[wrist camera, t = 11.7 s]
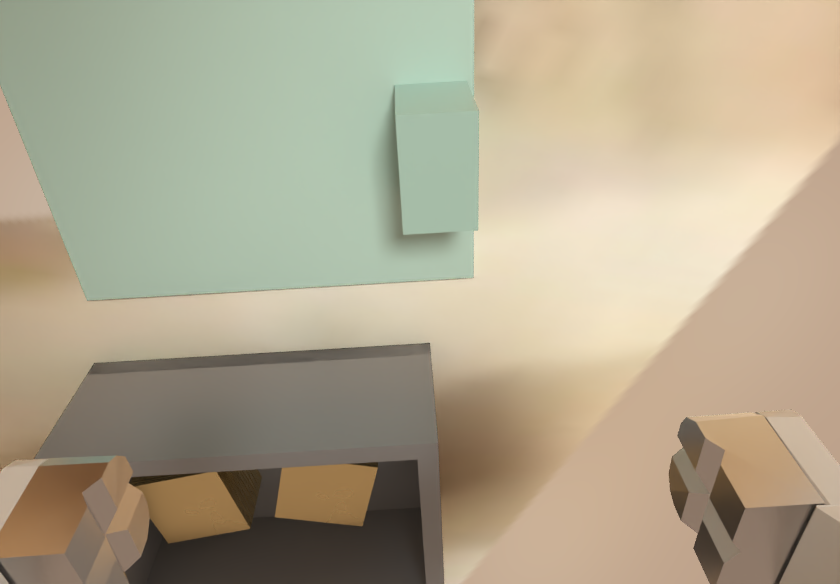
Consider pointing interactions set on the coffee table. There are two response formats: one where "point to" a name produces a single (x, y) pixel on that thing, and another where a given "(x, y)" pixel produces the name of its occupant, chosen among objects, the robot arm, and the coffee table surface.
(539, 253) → the coffee table surface
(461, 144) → the lid
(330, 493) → the part
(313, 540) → the tub
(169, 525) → the part
